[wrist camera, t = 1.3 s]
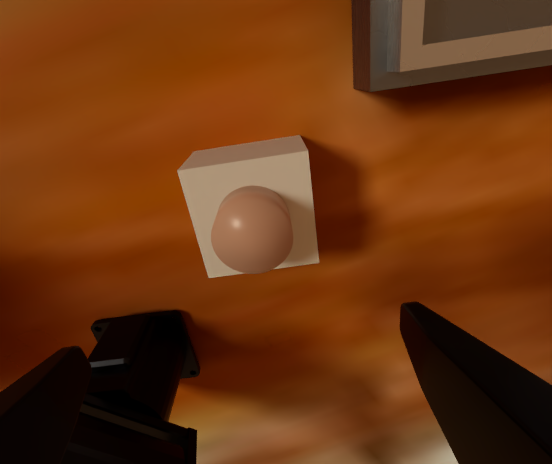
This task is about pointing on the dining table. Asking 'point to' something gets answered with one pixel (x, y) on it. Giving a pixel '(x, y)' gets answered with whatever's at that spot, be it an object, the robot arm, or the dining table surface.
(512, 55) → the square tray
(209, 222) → the beige cube with knob
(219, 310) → the dining table surface
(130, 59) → the dining table surface
